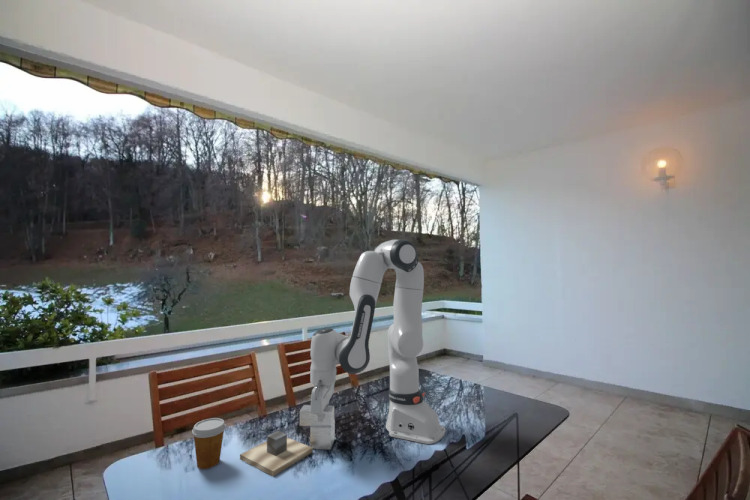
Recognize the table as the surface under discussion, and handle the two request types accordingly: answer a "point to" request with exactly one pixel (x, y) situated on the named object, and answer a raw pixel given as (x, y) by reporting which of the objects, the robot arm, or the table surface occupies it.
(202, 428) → the disposable coffee cup
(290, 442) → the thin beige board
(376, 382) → the table surface
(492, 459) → the table surface
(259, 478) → the table surface
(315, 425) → the grey stepped block
